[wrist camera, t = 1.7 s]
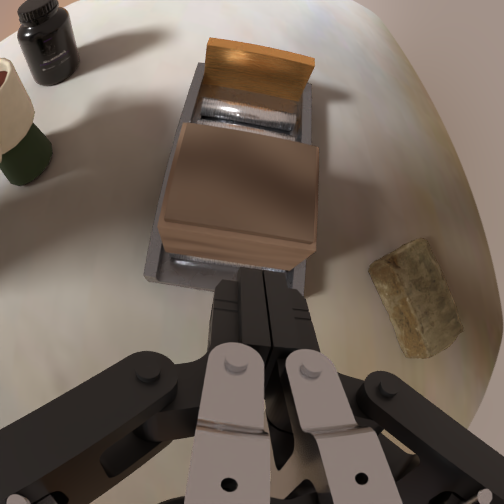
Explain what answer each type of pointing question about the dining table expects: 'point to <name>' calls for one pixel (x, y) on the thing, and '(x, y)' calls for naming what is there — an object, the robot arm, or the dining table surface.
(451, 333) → the stone block
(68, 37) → the supplement bottle
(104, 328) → the dining table surface
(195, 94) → the roller track
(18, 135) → the character mug
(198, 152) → the brown wooden block
